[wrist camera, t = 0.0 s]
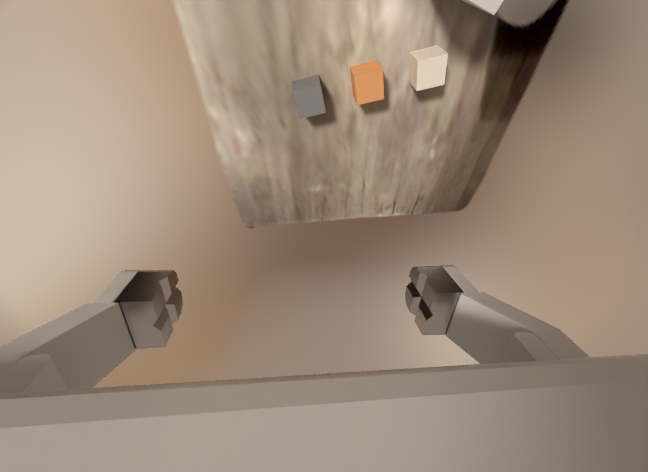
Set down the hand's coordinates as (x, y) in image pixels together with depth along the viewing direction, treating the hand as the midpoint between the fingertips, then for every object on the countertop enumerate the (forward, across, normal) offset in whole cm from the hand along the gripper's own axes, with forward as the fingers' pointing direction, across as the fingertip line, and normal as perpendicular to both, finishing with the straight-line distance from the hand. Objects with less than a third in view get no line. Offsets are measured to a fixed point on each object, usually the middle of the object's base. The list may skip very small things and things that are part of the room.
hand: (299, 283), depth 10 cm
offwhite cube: (+52, -24, -11) cm, 58 cm away
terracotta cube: (+52, -14, -8) cm, 55 cm away
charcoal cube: (+54, -4, -5) cm, 54 cm away
